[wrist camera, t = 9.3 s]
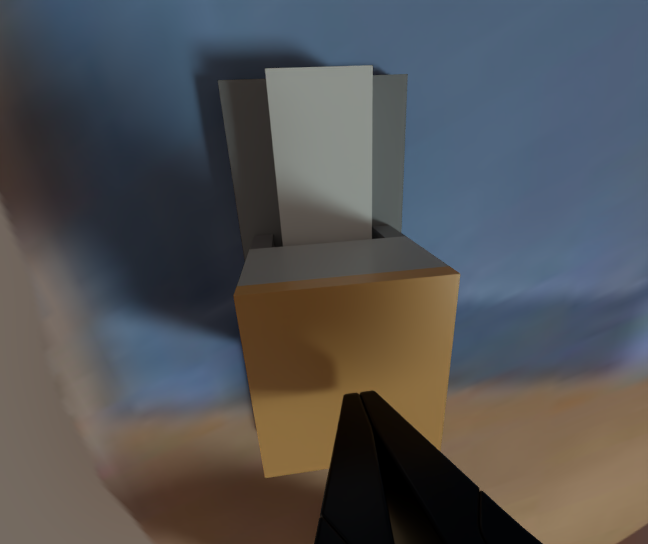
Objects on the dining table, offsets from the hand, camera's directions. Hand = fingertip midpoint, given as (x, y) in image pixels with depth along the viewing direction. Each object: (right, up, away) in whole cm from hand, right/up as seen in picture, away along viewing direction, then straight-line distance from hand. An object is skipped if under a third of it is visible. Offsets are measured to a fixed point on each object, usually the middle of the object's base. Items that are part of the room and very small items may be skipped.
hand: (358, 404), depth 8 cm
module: (-1, +2, +6) cm, 7 cm away
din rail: (-1, +3, +7) cm, 8 cm away
